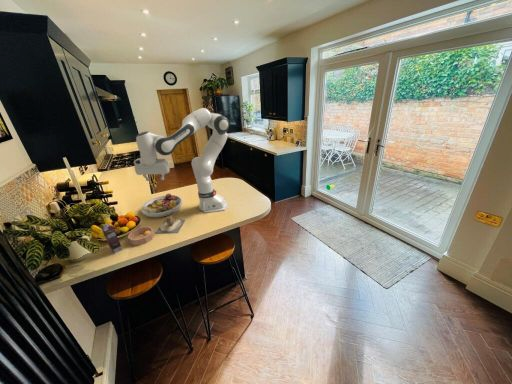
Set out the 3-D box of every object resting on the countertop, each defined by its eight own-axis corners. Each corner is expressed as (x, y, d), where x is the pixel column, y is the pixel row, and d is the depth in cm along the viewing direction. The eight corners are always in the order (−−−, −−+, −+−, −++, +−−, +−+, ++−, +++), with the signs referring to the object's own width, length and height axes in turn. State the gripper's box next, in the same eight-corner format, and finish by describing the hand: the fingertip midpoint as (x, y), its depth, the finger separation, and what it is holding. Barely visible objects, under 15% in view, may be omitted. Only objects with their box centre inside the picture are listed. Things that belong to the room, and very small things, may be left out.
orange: (145, 236, 138) (152, 235, 139) (143, 239, 134) (150, 238, 135) (144, 229, 137) (152, 229, 138) (142, 232, 133) (150, 232, 134)
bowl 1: (158, 231, 142) (156, 226, 141) (147, 244, 130) (146, 239, 128) (137, 231, 143) (135, 226, 141) (125, 245, 130) (123, 240, 129)
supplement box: (109, 248, 129) (99, 226, 122) (118, 243, 132) (109, 222, 125) (114, 254, 123) (104, 231, 117) (123, 249, 127) (114, 227, 120)
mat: (185, 220, 153) (185, 219, 153) (178, 232, 139) (177, 232, 139) (164, 220, 154) (164, 220, 153) (155, 233, 140) (155, 232, 140)
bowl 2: (174, 219, 155) (171, 210, 152) (134, 219, 158) (131, 210, 154) (188, 200, 182) (186, 191, 179) (154, 200, 185) (152, 192, 181)
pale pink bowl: (184, 219, 152) (182, 211, 149) (177, 231, 140) (175, 222, 137) (165, 220, 153) (162, 212, 150) (156, 232, 140) (153, 223, 137)
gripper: (168, 157, 134) (173, 177, 140) (136, 158, 134) (142, 179, 140) (164, 160, 128) (169, 181, 134) (130, 161, 128) (137, 182, 134)
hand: (155, 180), depth 137 cm, fingers open, 8 cm apart
